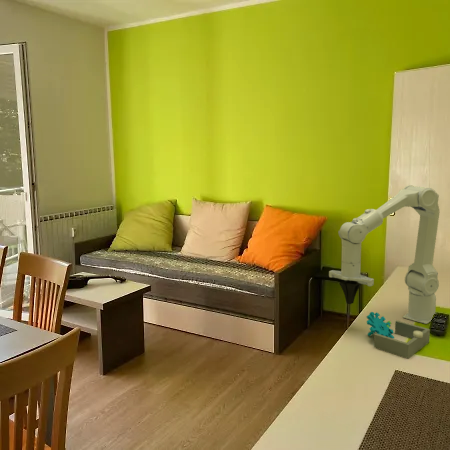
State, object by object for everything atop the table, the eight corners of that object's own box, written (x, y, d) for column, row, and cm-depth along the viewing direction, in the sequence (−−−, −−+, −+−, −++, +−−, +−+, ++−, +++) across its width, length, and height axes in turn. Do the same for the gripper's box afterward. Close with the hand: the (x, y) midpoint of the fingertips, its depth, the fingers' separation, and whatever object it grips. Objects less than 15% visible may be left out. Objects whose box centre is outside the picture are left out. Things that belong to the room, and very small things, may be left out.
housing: (396, 332, 140) (397, 316, 139) (431, 342, 132) (432, 326, 131) (373, 347, 130) (374, 330, 129) (410, 359, 123) (411, 341, 122)
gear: (383, 343, 129) (364, 312, 134) (368, 352, 133) (350, 322, 137) (402, 337, 136) (384, 308, 141) (388, 346, 140) (370, 317, 144)
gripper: (323, 259, 142) (323, 300, 145) (365, 268, 132) (364, 312, 134) (336, 255, 147) (335, 295, 149) (377, 263, 137) (376, 306, 139)
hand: (350, 303), depth 142 cm, fingers closed
